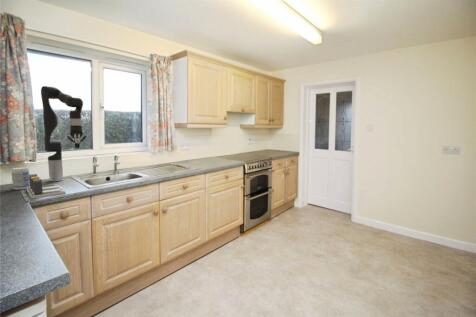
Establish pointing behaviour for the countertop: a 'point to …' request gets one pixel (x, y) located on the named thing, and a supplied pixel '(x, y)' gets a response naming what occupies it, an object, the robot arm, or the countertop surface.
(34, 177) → the breaker
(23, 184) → the supplement tub
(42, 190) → the grey base plate
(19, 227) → the countertop surface
